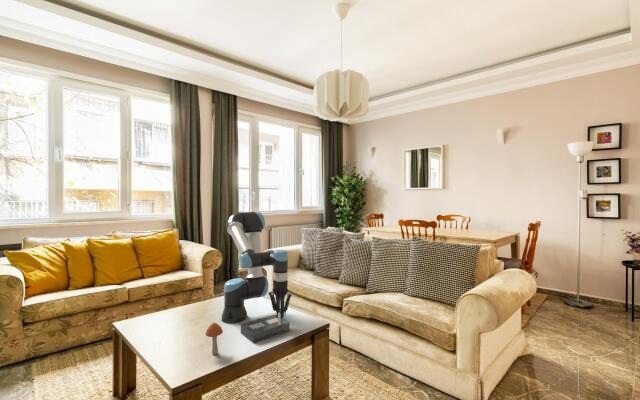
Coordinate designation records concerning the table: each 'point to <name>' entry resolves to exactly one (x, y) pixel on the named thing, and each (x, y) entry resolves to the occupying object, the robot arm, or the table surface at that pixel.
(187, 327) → the table surface
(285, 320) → the green knobbed rod
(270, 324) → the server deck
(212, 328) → the mushroom
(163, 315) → the table surface
